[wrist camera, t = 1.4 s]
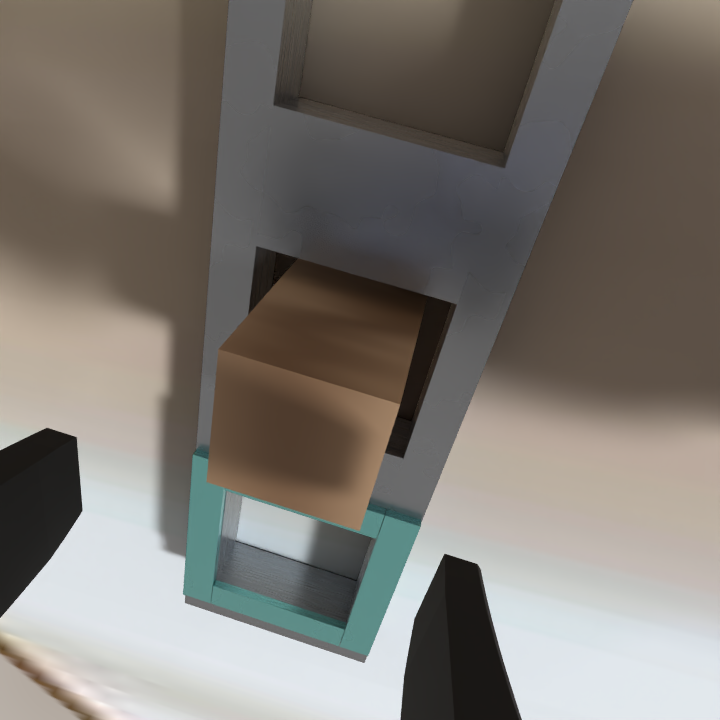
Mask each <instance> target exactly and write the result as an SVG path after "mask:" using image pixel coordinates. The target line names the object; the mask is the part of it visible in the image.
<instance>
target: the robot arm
mask: <svg viewBox="0 0 720 720" xmlns="http://www.w3.org/2000/svg"><path fill="white" fill-rule="evenodd" d="M81 512H82V498H81V486H80V474H79V461H78V449H77V437H74V436H71V435H68V434H65V433H62V432H58V431H55V430H52V429H49V428H46V429H44V430H41V431H39V432H37V433H35V434H33V435H31V436H29V437H27V438H25V439H23V440H20V441H18V442H16V443H14V444H12V445H10V446H8V447H6V448H4V449H2V450H0V618H1V616H2V615H3V614H4V613H5V612H6V611H7V609H8V608H9V607H10V606H11V605H12V604H13V603H14V601H15V600H16V599H17V598H18V597H19V596H20V594H21V593H22V592H23V591H24V590H25V588H26V587H27V586H28V585H29V584H30V583H31V581H32V580H33V579H34V578H35V577H36V575H37V574H38V573H39V572H40V571H41V570H42V568H43V567H44V566H45V565H46V563H47V562H48V561H49V560H50V559H51V557H52V556H53V554H54V553H55V551H56V550H57V549H58V547H59V546H60V544H61V543H62V541H63V540H64V538H65V537H66V535H67V534H68V532H69V531H70V529H71V528H72V526H73V525H74V523H75V522H76V520H77V519H78V517H79V515H80V514H81ZM401 720H522V719H521V716H520V713H519V710H518V707H517V704H516V701H515V698H514V694H513V691H512V688H511V685H510V682H509V678H508V675H507V672H506V669H505V665H504V662H503V659H502V655H501V652H500V648H499V645H498V641H497V637H496V633H495V630H494V626H493V622H492V618H491V614H490V610H489V606H488V602H487V597H486V593H485V588H484V584H483V579H482V574H481V570H480V568H479V566H478V565H477V564H475V563H472V562H469V561H466V560H463V559H459V558H456V557H453V556H450V555H447V554H444V556H443V558H442V560H441V562H440V565H439V567H438V569H437V571H436V573H435V576H434V578H433V580H432V582H431V584H430V586H429V589H428V591H427V593H426V595H425V597H424V599H423V602H422V604H421V606H420V608H419V610H418V613H417V615H416V617H415V619H414V625H413V630H412V636H411V641H410V646H409V652H408V658H407V663H406V669H405V675H404V685H403V697H402V709H401Z"/></svg>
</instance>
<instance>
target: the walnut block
mask: <svg viewBox="0 0 720 720" xmlns="http://www.w3.org/2000/svg"><path fill="white" fill-rule="evenodd" d="M427 297H428V296H427V295H423V294H420V293H416V292H413V291H410V290H406V289H403V288H399V287H396V286H392V285H389V284H385V283H382V282H379V281H375V280H372V279H368V278H365V277H361V276H358V275H354V274H351V273H347V272H344V271H341V270H337V269H334V268H330V267H327V266H323V265H320V264H316V263H313V262H310V261H306V260H303V259H299V258H298V259H297V260H296V261H295V262H294V263H293V264H292V265H291V267H290V268H289V269H288V270H287V271H286V272H285V273H284V275H283V276H282V277H281V278H280V279H279V280H278V281H277V283H276V284H275V285H274V286H273V287H272V288H271V290H270V291H269V292H268V293H267V294H266V295H265V296H264V298H263V299H262V300H261V301H260V302H259V303H258V304H257V306H256V307H255V308H254V309H253V310H252V311H251V312H250V314H249V315H248V316H247V317H246V318H245V319H244V320H243V322H242V323H241V324H240V325H239V326H238V327H237V328H236V330H235V331H234V332H233V333H232V334H231V335H230V336H229V338H228V339H227V340H226V341H225V342H224V343H223V344H222V346H221V347H220V348H219V349H218V359H217V370H216V381H215V392H214V403H213V415H212V426H211V437H210V448H209V459H208V470H207V481H206V482H208V483H211V484H214V485H217V486H220V487H223V488H227V489H230V490H233V491H236V492H239V493H242V494H245V495H248V496H252V497H255V498H258V499H261V500H264V501H267V502H270V503H273V504H276V505H280V506H283V507H286V508H289V509H292V510H295V511H298V512H301V513H305V514H308V515H311V516H314V517H317V518H320V519H323V520H326V521H330V522H333V523H336V524H339V525H342V526H345V527H348V528H351V529H355V530H358V531H360V528H361V525H362V522H363V519H364V516H365V513H366V510H367V506H368V503H369V500H370V497H371V494H372V491H373V488H374V485H375V482H376V478H377V475H378V472H379V469H380V466H381V463H382V460H383V457H384V454H385V450H386V447H387V444H388V441H389V438H390V435H391V432H392V429H393V425H394V422H395V419H396V416H397V413H398V410H399V407H400V403H401V400H402V396H403V392H404V388H405V384H406V380H407V376H408V372H409V368H410V364H411V360H412V356H413V352H414V348H415V344H416V341H417V337H418V333H419V329H420V325H421V321H422V317H423V313H424V309H425V305H426V301H427Z"/></svg>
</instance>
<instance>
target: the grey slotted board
mask: <svg viewBox="0 0 720 720" xmlns="http://www.w3.org/2000/svg"><path fill="white" fill-rule="evenodd" d="M312 1H313V0H229V6H228V20H227V33H226V47H225V61H224V74H223V88H222V102H221V115H220V129H219V143H218V157H217V170H216V184H215V198H214V211H213V225H212V239H211V252H210V266H209V280H208V294H207V307H206V321H205V335H204V348H203V362H202V376H201V389H200V403H199V417H198V431H197V444H196V451H195V452H194V454H193V459H192V474H191V488H190V503H189V517H188V532H187V546H186V560H185V575H184V589H183V594H184V595H185V603H187V604H190V605H193V606H196V607H199V608H202V609H205V610H208V611H211V612H214V613H217V614H220V615H223V616H226V617H229V618H232V619H235V620H238V621H241V622H244V623H247V624H250V625H253V626H256V627H259V628H262V629H265V630H268V631H271V632H274V633H276V634H279V635H282V636H285V637H288V638H291V639H294V640H297V641H300V642H303V643H306V644H309V645H312V646H315V647H318V648H321V649H324V650H327V651H330V652H333V653H336V654H339V655H342V656H345V657H348V658H351V659H354V660H357V661H360V662H363V663H364V662H365V660H366V657H367V656H368V654H369V652H370V649H371V647H372V645H373V642H374V640H375V637H376V635H377V632H378V630H379V627H380V625H381V622H382V620H383V618H384V615H385V613H386V610H387V608H388V605H389V603H390V600H391V598H392V595H393V593H394V591H395V588H396V586H397V583H398V581H399V578H400V576H401V573H402V571H403V568H404V566H405V564H406V561H407V559H408V556H409V554H410V551H411V549H412V546H413V544H414V541H415V539H416V537H417V534H418V532H419V529H420V527H421V522H422V519H423V517H424V515H425V512H426V510H427V507H428V505H429V502H430V500H431V497H432V495H433V492H434V490H435V487H436V485H437V483H438V480H439V478H440V475H441V473H442V470H443V468H444V465H445V463H446V460H447V458H448V455H449V453H450V451H451V448H452V446H453V443H454V441H455V438H456V436H457V433H458V431H459V428H460V426H461V423H462V421H463V418H464V416H465V414H466V411H467V409H468V406H469V404H470V401H471V399H472V396H473V394H474V391H475V389H476V386H477V384H478V382H479V379H480V377H481V374H482V372H483V369H484V367H485V364H486V362H487V359H488V357H489V354H490V352H491V350H492V347H493V345H494V342H495V340H496V337H497V335H498V332H499V330H500V327H501V325H502V322H503V320H504V317H505V315H506V313H507V310H508V308H509V305H510V303H511V300H512V298H513V295H514V293H515V290H516V288H517V285H518V283H519V281H520V278H521V276H522V273H523V271H524V268H525V266H526V263H527V261H528V258H529V256H530V253H531V251H532V248H533V246H534V244H535V241H536V239H537V236H538V234H539V231H540V229H541V226H542V224H543V221H544V219H545V216H546V214H547V212H548V209H549V207H550V204H551V202H552V199H553V197H554V194H555V192H556V189H557V187H558V184H559V182H560V180H561V177H562V175H563V172H564V170H565V167H566V165H567V162H568V160H569V157H570V155H571V152H572V150H573V147H574V145H575V143H576V140H577V138H578V135H579V133H580V130H581V128H582V125H583V123H584V120H585V118H586V115H587V113H588V111H589V108H590V106H591V103H592V101H593V98H594V96H595V93H596V91H597V88H598V86H599V83H600V81H601V78H602V76H603V74H604V71H605V69H606V66H607V64H608V61H609V59H610V56H611V54H612V51H613V49H614V46H615V44H616V42H617V39H618V37H619V34H620V32H621V29H622V27H623V24H624V22H625V19H626V17H627V14H628V12H629V10H630V7H631V5H632V2H633V0H555V3H554V6H553V9H552V12H551V14H550V17H549V20H548V23H547V26H546V29H545V32H544V35H543V38H542V41H541V44H540V47H539V50H538V52H537V55H536V58H535V61H534V64H533V67H532V70H531V73H530V76H529V79H528V82H527V85H526V88H525V91H524V93H523V96H522V99H521V102H520V105H519V108H518V111H517V114H516V117H515V120H514V123H513V126H512V129H511V131H510V134H509V137H508V140H507V143H506V146H505V149H504V152H500V151H496V150H493V149H489V148H485V147H482V146H478V145H474V144H471V143H467V142H463V141H460V140H456V139H452V138H448V137H445V136H441V135H437V134H434V133H430V132H426V131H423V130H419V129H415V128H411V127H408V126H404V125H400V124H397V123H393V122H389V121H386V120H382V119H378V118H375V117H371V116H367V115H363V114H360V113H356V112H352V111H349V110H345V109H341V108H338V107H334V106H330V105H326V104H323V103H319V102H315V101H312V100H308V99H304V98H301V97H299V92H300V85H301V78H302V71H303V64H304V57H305V50H306V43H307V36H308V29H309V22H310V15H311V8H312ZM277 252H278V253H282V254H285V255H289V256H292V257H296V258H299V259H303V260H306V261H310V262H313V263H316V264H320V265H323V266H327V267H330V268H334V269H337V270H341V271H344V272H347V273H351V274H354V275H358V276H361V277H365V278H368V279H372V280H375V281H379V282H382V283H385V284H389V285H392V286H396V287H399V288H403V289H406V290H410V291H413V292H416V293H420V294H423V295H427V296H430V297H434V298H437V299H441V300H444V301H447V302H451V303H452V304H451V307H450V310H449V313H448V316H447V319H446V322H445V325H444V328H443V330H442V333H441V336H440V339H439V342H438V345H437V348H436V351H435V354H434V357H433V360H432V363H431V366H430V369H429V371H428V374H427V377H426V380H425V383H424V386H423V389H422V392H421V395H420V398H419V401H418V404H417V407H416V409H415V412H414V415H413V418H412V421H410V420H407V419H404V418H401V417H397V416H396V419H395V422H394V425H393V429H392V432H391V435H390V438H389V441H388V444H387V447H386V450H385V454H384V457H383V460H382V463H381V466H380V469H379V472H378V475H377V478H376V482H375V485H374V488H373V491H372V494H371V497H370V500H369V503H368V506H367V510H366V513H365V516H364V519H363V522H362V525H361V528H360V531H358V530H355V529H351V528H348V527H345V526H342V525H339V524H336V523H333V522H330V521H326V520H323V519H320V518H317V517H314V516H311V515H308V514H305V513H301V512H298V511H295V510H292V509H289V508H286V507H283V506H280V505H276V504H273V503H270V502H267V501H264V500H261V499H258V498H255V497H252V496H248V495H245V494H242V493H239V492H236V491H233V490H230V489H227V488H223V487H220V486H217V485H214V484H211V483H208V482H206V481H207V470H208V459H209V448H210V437H211V426H212V415H213V403H214V392H215V381H216V370H217V359H218V349H219V348H220V347H221V346H222V344H223V343H224V342H225V341H226V340H227V339H228V338H229V336H230V335H231V334H232V333H233V332H234V331H235V330H236V328H237V327H238V326H239V325H240V324H241V323H242V322H243V320H244V319H245V318H246V317H247V316H248V315H249V314H250V312H251V311H252V310H253V309H254V308H255V307H256V306H257V304H258V303H259V302H260V301H261V300H262V299H263V298H264V296H265V295H266V294H267V293H268V292H269V291H270V290H271V288H272V283H273V276H274V269H275V262H276V255H277ZM242 496H244V497H247V498H250V499H253V500H256V501H259V502H262V503H266V504H269V505H272V506H275V507H278V508H281V509H284V510H287V511H291V512H294V513H297V514H300V515H303V516H306V517H309V518H312V519H315V520H319V521H322V522H325V523H328V524H331V525H334V526H337V527H340V528H344V529H347V530H350V531H353V532H356V533H359V534H362V535H365V536H369V537H372V538H371V541H370V544H369V547H368V550H367V553H366V556H365V559H364V562H363V565H362V567H361V570H360V573H359V576H358V579H357V581H355V580H352V579H349V578H346V577H343V576H340V575H337V574H334V573H331V572H328V571H325V570H321V569H318V568H315V567H312V566H309V565H306V564H303V563H300V562H297V561H294V560H291V559H288V558H285V557H282V556H279V555H275V554H272V553H269V552H266V551H263V550H260V549H257V548H254V547H251V546H248V545H245V544H242V543H239V542H236V536H237V529H238V522H239V515H240V508H241V501H242Z"/></svg>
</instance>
